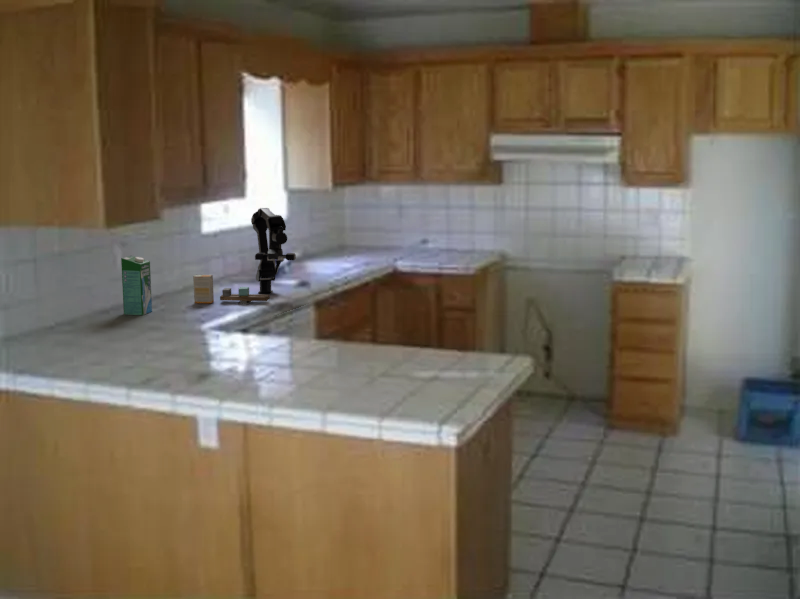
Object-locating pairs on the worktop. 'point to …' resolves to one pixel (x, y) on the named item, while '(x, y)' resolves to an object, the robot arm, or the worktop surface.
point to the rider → (243, 291)
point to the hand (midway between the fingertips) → (275, 274)
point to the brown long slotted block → (242, 297)
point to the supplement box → (203, 289)
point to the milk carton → (136, 285)
